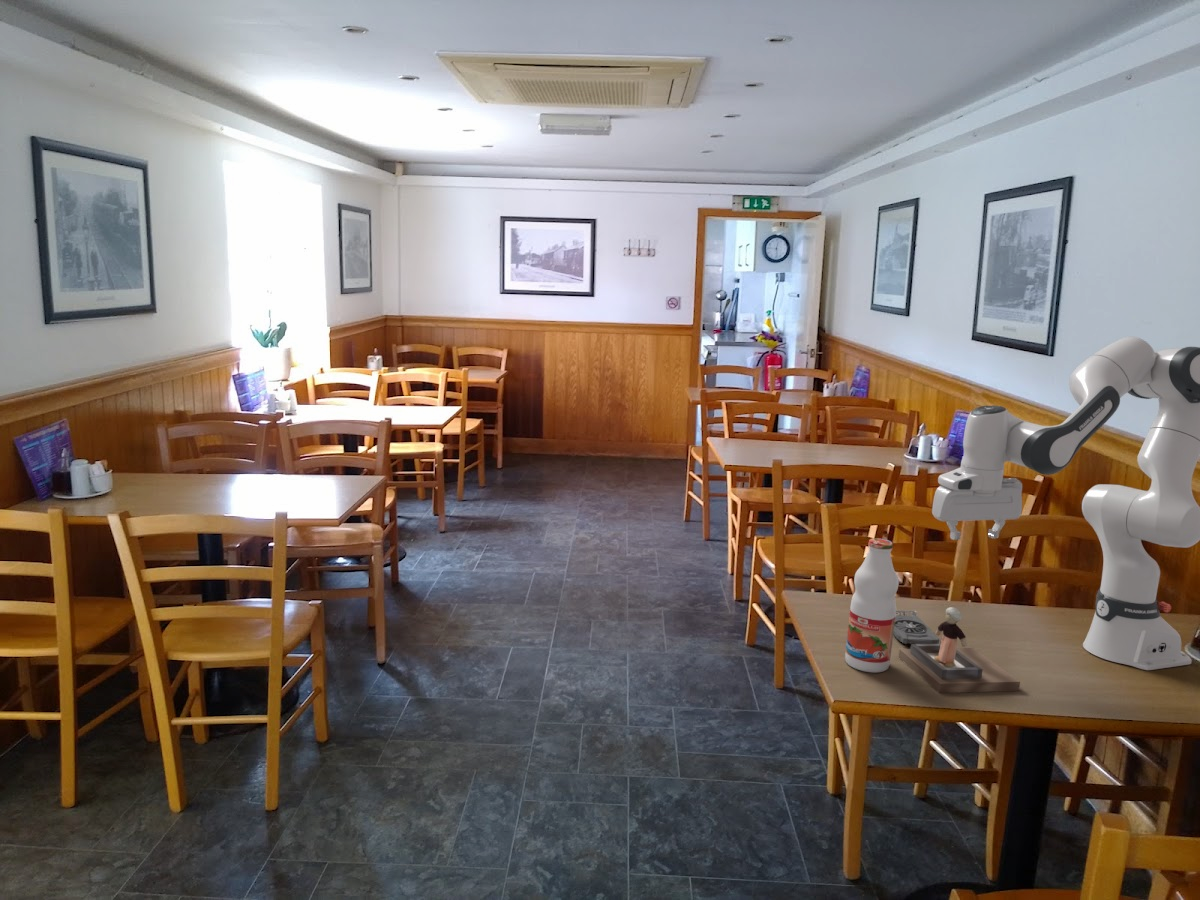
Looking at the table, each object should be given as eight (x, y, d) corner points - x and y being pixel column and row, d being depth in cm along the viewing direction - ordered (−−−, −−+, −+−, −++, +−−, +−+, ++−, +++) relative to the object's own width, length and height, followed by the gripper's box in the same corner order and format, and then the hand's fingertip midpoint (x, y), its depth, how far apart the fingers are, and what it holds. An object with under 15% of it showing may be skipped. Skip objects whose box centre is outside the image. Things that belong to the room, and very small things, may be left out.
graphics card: (868, 608, 215) (916, 609, 215) (867, 622, 215) (915, 623, 216) (892, 636, 198) (944, 637, 198) (890, 651, 199) (942, 652, 199)
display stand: (972, 656, 196) (974, 639, 195) (1018, 690, 180) (1021, 672, 179) (898, 657, 193) (900, 640, 193) (938, 692, 177) (941, 674, 176)
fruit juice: (897, 666, 189) (912, 543, 183) (874, 677, 182) (889, 550, 177) (859, 651, 195) (872, 532, 190) (836, 662, 189) (849, 539, 184)
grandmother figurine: (925, 659, 187) (932, 604, 185) (934, 655, 190) (942, 600, 187) (958, 672, 181) (966, 615, 179) (968, 668, 184) (976, 612, 181)
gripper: (1014, 474, 197) (1007, 532, 200) (931, 476, 193) (925, 535, 196) (1032, 481, 191) (1024, 541, 194) (947, 483, 187) (941, 544, 190)
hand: (974, 538), depth 195 cm, fingers open, 8 cm apart
